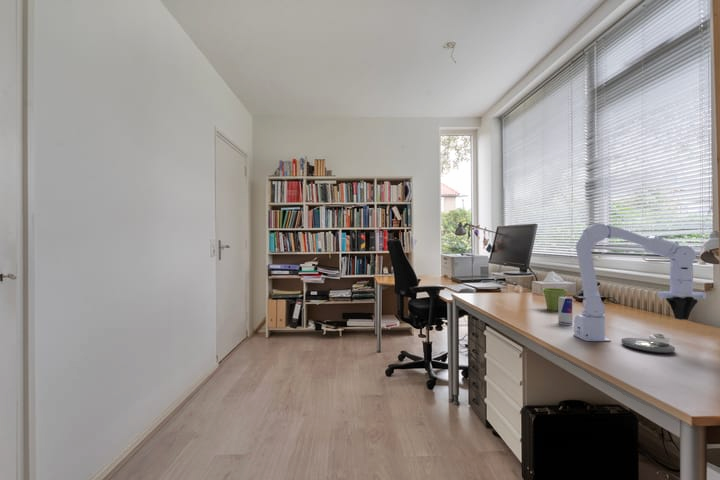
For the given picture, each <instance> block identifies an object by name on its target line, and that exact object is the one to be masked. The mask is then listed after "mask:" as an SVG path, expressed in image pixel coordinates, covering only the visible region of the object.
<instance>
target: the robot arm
mask: <svg viewBox="0 0 720 480" xmlns="http://www.w3.org/2000/svg"><path fill="white" fill-rule="evenodd" d="M613 238H615V239H620V240H623V241H625V242H626V241H627V242H630V243H634V244H637V245H639V246H642V247H643V249H644V251H646V252H650V253H652V254H654V255H658V256H661V257H663V258H668V259H669V260H670V261H669V262H670V266H669V291H657V292H656V293H657V296H656V297H657V298H658V299H659V298H660V299H665V300H666V302H667V303H668V304H669V306H670V309H672V313H673V316H674V319H675V320H676V319H677V320H679V321H680V320H681V321H682V320H689V317H690V315H691V312H692V310H693V309H694V307H695V305H696V304H698V299H702V300H703V299H704V300H705V299H707V293H706V292H701V291H699V292H698V291H696V292H695V291H694V265H693V264H694V263H693V262H694V261H695V259H696V258H697V255H698V254H697V253H696V251H695V250H694V249H693V248H692V247H691V246H688V245H680V242H678V241H671V240H667V239H664V238H663V236H661V235H656V236H655V235H651V236H648V237H647V236H643V235H640V234H638V233H635V232H632V231H629V230H627V229H624V228H621V227H618V226H614V225H609V224H607V225H606V224H604V223H597V222H596V223H594V224H590V225H589V226H588V227H586V228H585V229H584V230H583V231H582V233H581V235H580V236H579V239H578V241H577V242H576V244H575V250H576V251H575V252H576V256H577V262H578V268H579V272H580V279H581V283H582V290H583V291H582V293H583V300H582V301H581V303H582V308H583V309H584V310H583V311H582V313H581V314H579V315H575V316H574V320H573V325H574V327H573V333H572V335H573V336H574V337H577V338H579V339H580V340H583V341H586V342H611V341H612V339H610V338H607V337H606V315H605V312H606V309H607V308H606V305H605V303H604V302H603V301H602V298H601V294H600V291H599V286H598V282H597V275H596V269H595V264H594V260H593V254H592V249H593V248H594V247H595V246H596V245H597V244H598V243H599V242H602V241H603V240H606V239H613Z"/></svg>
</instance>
